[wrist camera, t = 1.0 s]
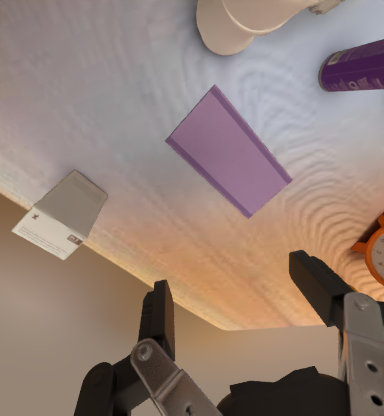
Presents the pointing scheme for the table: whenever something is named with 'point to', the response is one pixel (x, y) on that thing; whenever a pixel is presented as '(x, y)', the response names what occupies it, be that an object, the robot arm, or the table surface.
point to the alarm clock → (374, 252)
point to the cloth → (228, 154)
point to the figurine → (324, 6)
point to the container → (354, 69)
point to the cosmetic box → (63, 216)
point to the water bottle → (242, 21)
